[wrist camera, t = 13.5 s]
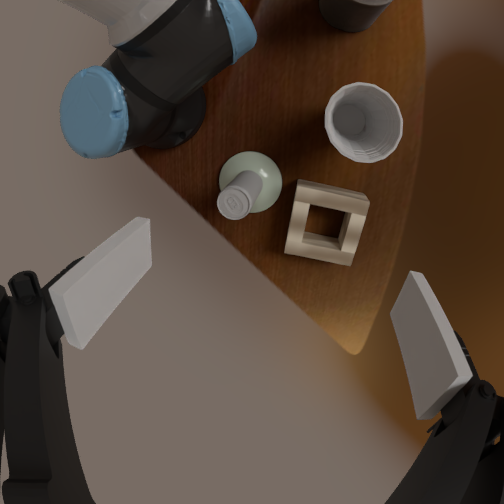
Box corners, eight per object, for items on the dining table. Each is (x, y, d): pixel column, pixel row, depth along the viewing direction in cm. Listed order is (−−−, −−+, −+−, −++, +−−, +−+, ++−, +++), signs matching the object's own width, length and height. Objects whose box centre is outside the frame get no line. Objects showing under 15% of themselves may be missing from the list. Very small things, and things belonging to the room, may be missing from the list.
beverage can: (245, 200, 49) (229, 226, 39) (230, 178, 48) (209, 198, 38) (268, 187, 48) (258, 210, 37) (253, 164, 46) (237, 180, 36)
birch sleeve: (297, 178, 47) (297, 185, 43) (363, 193, 46) (369, 202, 42) (286, 240, 53) (284, 252, 48) (346, 252, 52) (350, 266, 47)
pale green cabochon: (223, 147, 46) (222, 147, 46) (286, 156, 46) (286, 157, 45) (218, 205, 52) (216, 207, 51) (276, 215, 51) (276, 217, 50)
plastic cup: (372, 159, 43) (393, 174, 32) (312, 142, 44) (315, 150, 33) (387, 101, 38) (412, 98, 27) (325, 82, 38) (333, 71, 28)
